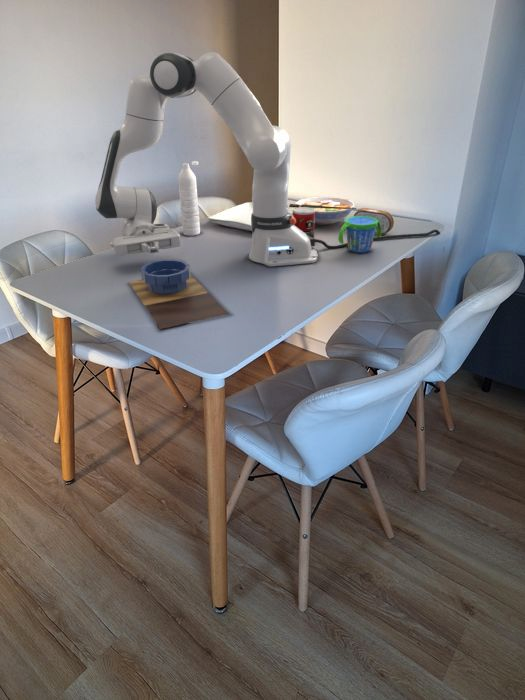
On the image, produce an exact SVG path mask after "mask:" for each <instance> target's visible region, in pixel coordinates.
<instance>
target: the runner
mask: <svg viewBox="0 0 525 700" xmlns="http://www.w3.org/2000/svg"><path fill="white" fill-rule="evenodd" d="M187 280H188V284H187V287H186V288H184V289H183V290H182V291H180V292H177V293H174V294H156V293H153V292H151V291H150V290H148V289H147V286H146V283H145V282H144V281H143V280H142V279H140V280H135V281H129V282H128V283H129V285H130V286H131V288H132V290H133V291H134V293H136V295H137V297H138V298H139V300H140V301H141V303H142V304H143V306H145V305H150V304H155V303H160V302H165V301H170V300H175V299H180V298H185V297H190V296H195V295H200V294H205V293H209V292H208V290H207V289H205V288H204V287H203V286H202V284H201V283H200V282H198V281H197V279H196V278H194V276H193V275H192V274H190V277H189V279H187Z"/></svg>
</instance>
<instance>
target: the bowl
mask: <svg viewBox="0 0 525 700" xmlns="http://www.w3.org/2000/svg"><path fill="white" fill-rule="evenodd" d="M190 275H191V265H190V264H189V263H188V262H187V261H185V260H181V259H177V258H175V259H168V258H167V259H159V260H154V261H150V262H148V263H145V264H144V265H142V267H141V269H140V276H141V280H143V281H144V282H145V283H146V286H147V289H148V290H150V291H151V292H153V293H156V294H174V293H177V292H180V291H182V290H183V289H184V288H186V287H187V284H188V280H187V279H189V277H190Z"/></svg>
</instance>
